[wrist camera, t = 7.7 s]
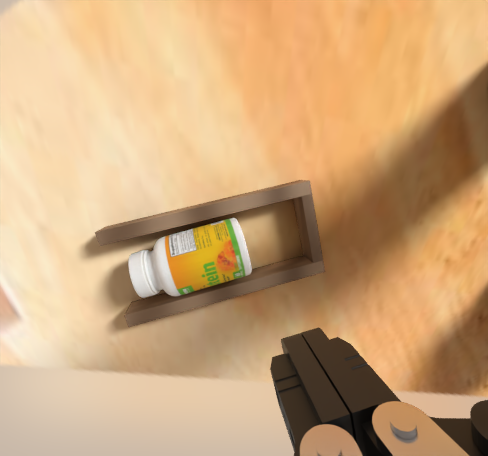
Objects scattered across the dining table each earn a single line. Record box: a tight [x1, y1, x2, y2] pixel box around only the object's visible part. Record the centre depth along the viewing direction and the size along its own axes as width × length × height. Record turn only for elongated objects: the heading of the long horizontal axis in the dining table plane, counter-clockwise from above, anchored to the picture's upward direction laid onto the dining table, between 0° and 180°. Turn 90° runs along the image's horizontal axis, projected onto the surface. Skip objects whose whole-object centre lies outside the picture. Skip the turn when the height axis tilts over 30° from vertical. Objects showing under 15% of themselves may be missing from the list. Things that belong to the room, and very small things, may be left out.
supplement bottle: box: [128, 218, 252, 298], centre depth 24 cm, size 5×5×10 cm
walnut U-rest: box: [95, 180, 325, 327], centre depth 26 cm, size 19×9×3 cm, turn 103°
